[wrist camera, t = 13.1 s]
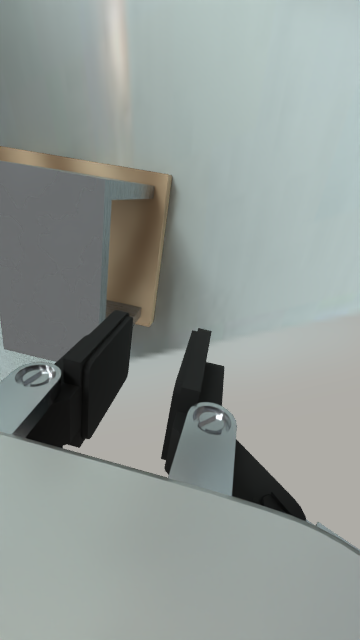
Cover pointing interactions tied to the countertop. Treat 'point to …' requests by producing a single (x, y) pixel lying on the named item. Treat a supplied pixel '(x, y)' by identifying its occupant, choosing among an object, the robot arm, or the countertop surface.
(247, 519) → the robot arm
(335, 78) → the countertop surface
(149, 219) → the board
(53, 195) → the cover
